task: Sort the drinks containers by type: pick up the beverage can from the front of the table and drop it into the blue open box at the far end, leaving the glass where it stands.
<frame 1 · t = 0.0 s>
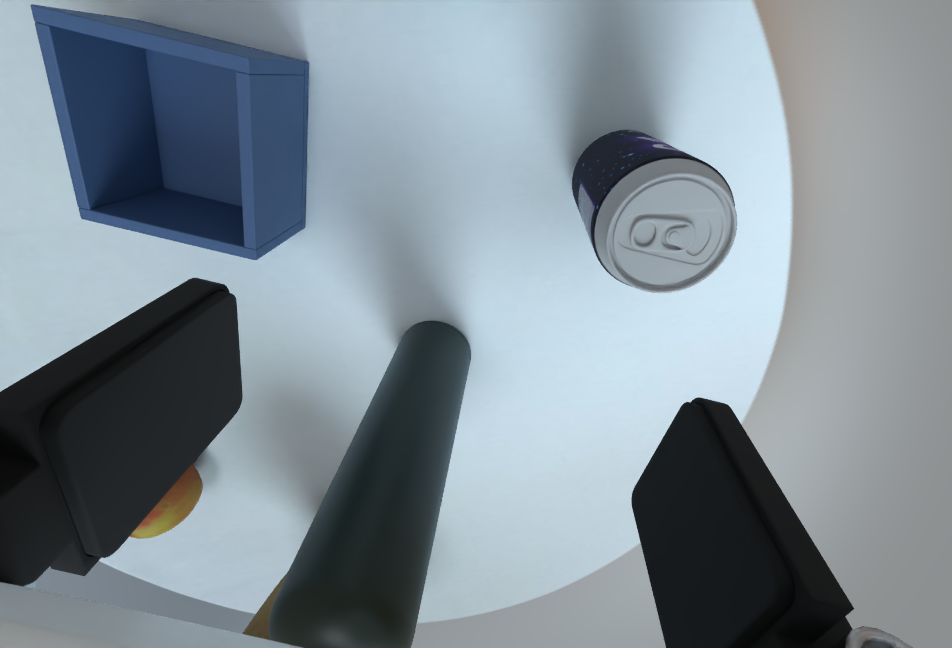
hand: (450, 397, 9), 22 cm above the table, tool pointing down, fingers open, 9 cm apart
wine bottle: (435, 350, 36), on the table
beverage can: (616, 177, 28), on the table
plant pot: (371, 527, 48), on the table
blue open box: (229, 133, 29), on the table
apple: (183, 458, 45), on the table
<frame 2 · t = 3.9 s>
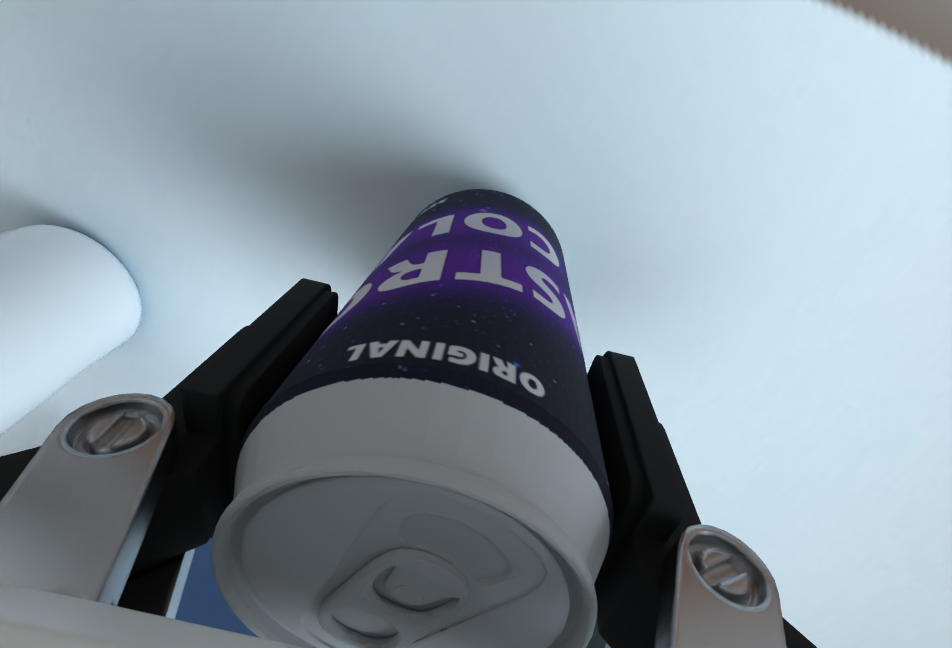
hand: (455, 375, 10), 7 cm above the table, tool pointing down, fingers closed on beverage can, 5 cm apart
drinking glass: (89, 282, 18), on the table
beverage can: (483, 262, 16), on the table, touching gripper
blue open box: (211, 554, 27), on the table
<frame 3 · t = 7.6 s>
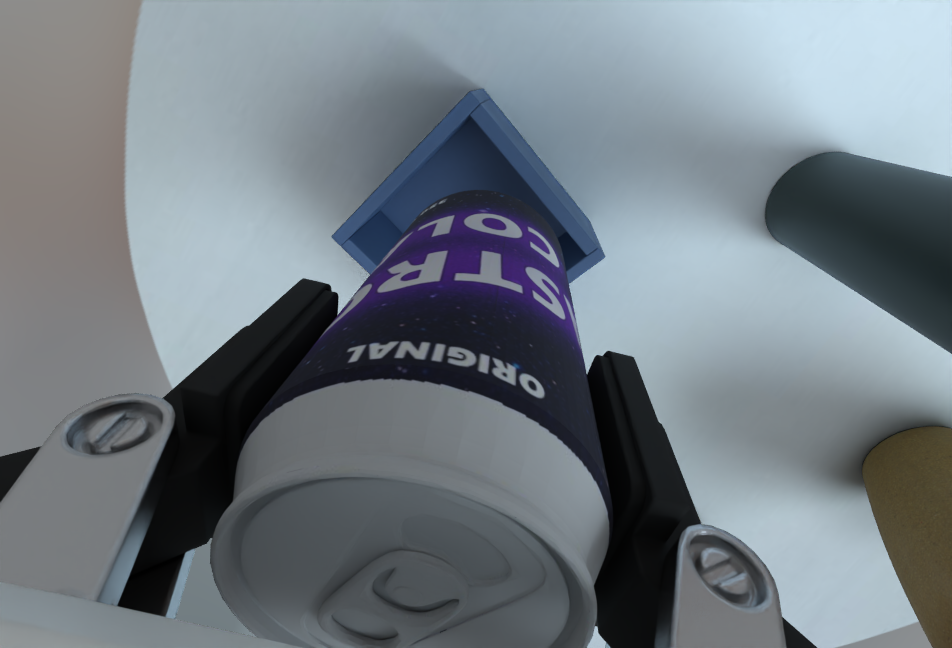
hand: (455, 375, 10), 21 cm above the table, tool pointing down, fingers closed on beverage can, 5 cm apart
wine bottle: (815, 201, 27), on the table
beverage can: (483, 262, 16), point 14 cm above the table, touching gripper
plant pot: (912, 456, 35), on the table
blue open box: (477, 214, 29), on the table
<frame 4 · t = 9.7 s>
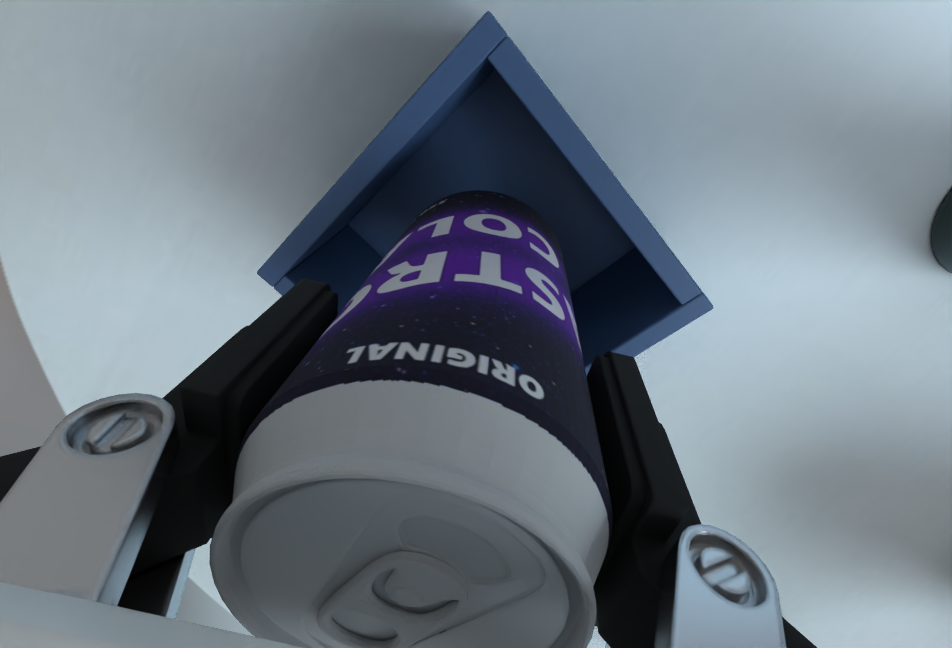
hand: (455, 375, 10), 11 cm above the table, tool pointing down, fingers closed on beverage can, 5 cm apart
beverage can: (482, 262, 16), point 4 cm above the table, touching gripper
blue open box: (491, 229, 20), on the table
when the fingers open (8 cm above the table, at t = 11.2 s): beverage can stays where it is, resting on blue open box.
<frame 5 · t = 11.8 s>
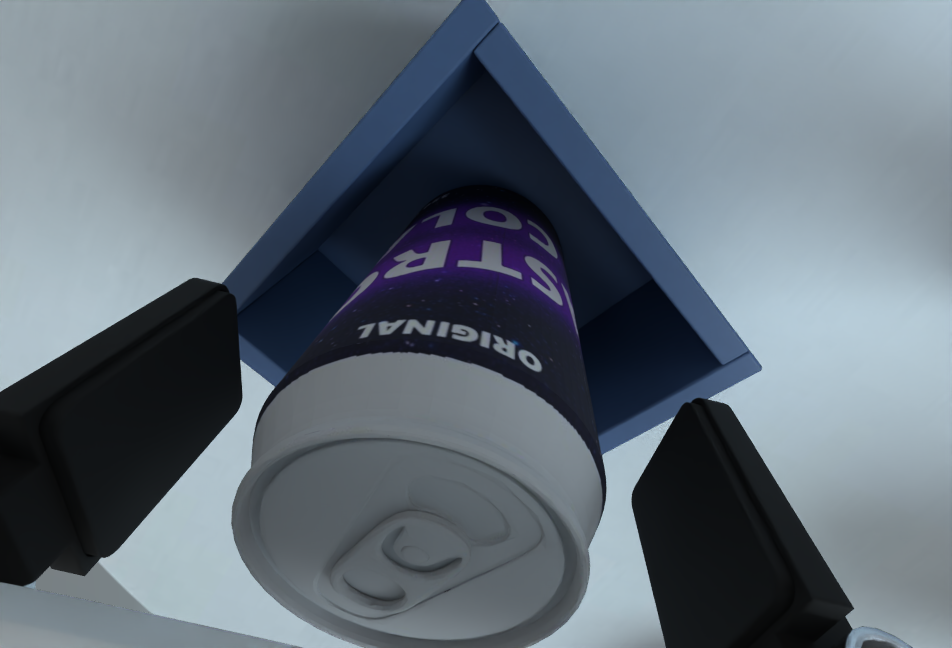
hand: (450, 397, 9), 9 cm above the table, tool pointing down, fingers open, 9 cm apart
beverage can: (484, 256, 17), resting on blue open box
blue open box: (485, 255, 17), on the table
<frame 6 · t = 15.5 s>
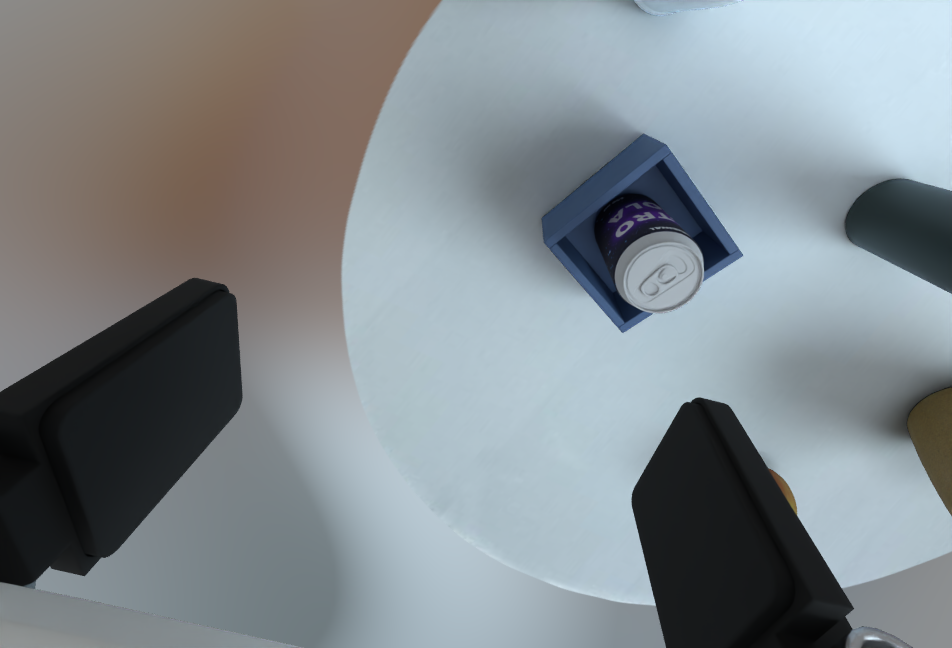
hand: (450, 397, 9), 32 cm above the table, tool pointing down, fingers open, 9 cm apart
wine bottle: (882, 214, 37), on the table
beverage can: (626, 224, 39), resting on blue open box
plant pot: (947, 411, 45), on the table
blue open box: (625, 223, 39), on the table
apple: (737, 473, 52), on the table
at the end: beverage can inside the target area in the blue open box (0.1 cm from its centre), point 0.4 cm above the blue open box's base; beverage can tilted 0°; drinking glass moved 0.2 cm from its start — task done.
